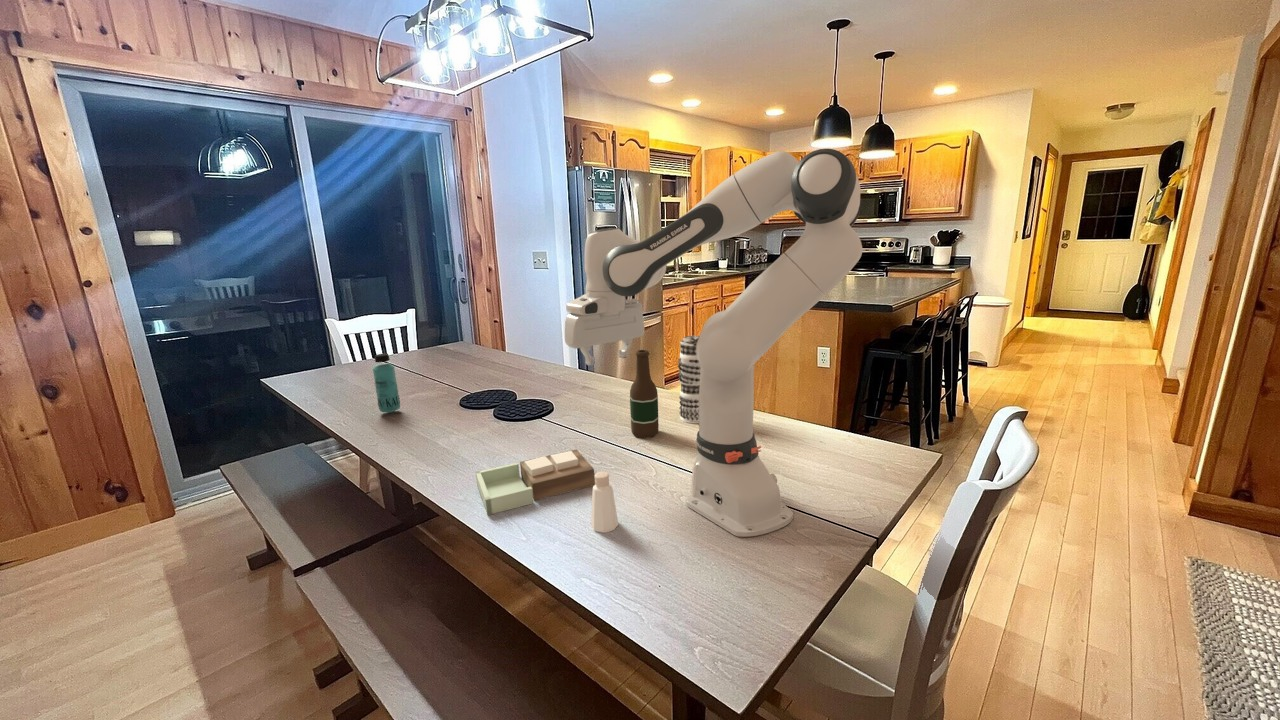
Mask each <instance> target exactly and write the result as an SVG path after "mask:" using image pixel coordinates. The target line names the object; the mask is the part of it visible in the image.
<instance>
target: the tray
mask: <svg viewBox="0 0 1280 720" xmlns="http://www.w3.org/2000/svg"><path fill="white" fill-rule="evenodd" d="M519 465H520V464H519V463H518V462H514V463H509V464H505V465H500V466H497V467H495V466H494V467H492V468H487V469H482V470H478V471H475V479H476V485H477V490H478V492H479V494H480V498H481V500H482V504H483V506H484V510H485V513H486V512H487V513H486V515H487V516H489V515H493V514H498V513H501V512H505V511H508V510H513V509H517V508H521V507H525V506H528V505H532V504H534V499H533V494H532V488H531V487H526V485H525V483H524V481H523V479H522V477H521V473H520V467H519Z"/></svg>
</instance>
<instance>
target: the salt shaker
mask: <svg viewBox="0 0 1280 720" xmlns="http://www.w3.org/2000/svg"><path fill="white" fill-rule="evenodd" d="M594 478H595V485H593V486H592V495H591V496H592V498H591V512H590V513H591V514H590V515H591V516H590V525H591V528H592V530H593V532H597V533H602V534H604V533H608V532H612V531H615V529H616V528H617V527H618V526H619V519H618V514H617V507H616V500H615V496H614V489H613V486H612V484H611V483H610V474H609V472H607V471H598V472H596V473H594Z"/></svg>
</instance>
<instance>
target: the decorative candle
mask: <svg viewBox="0 0 1280 720" xmlns="http://www.w3.org/2000/svg"><path fill="white" fill-rule="evenodd" d="M699 337H700V335H688V336H687V335H686V336H684V337H683V338H682V340H680V342H679V344H680V347H679V350H680V352H679V358H678V360H677V363H678V365H677V368H678V375H679V376H678V381H679V383H680V391H679V393H680V395H679V397H678V398H679V400H680V401H679V407H678V409H679V415H680V416H679V419H680V421H681V422H683V423H687V424H699V387H700V363H699V361H698V358H697V353H696V347H697V342H698V339H699Z"/></svg>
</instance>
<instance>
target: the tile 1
mask: <svg viewBox="0 0 1280 720" xmlns="http://www.w3.org/2000/svg"><path fill="white" fill-rule="evenodd" d="M545 456H546V455H544V456H541V457H537V458H536V459H535V458H532V460H531V459H527V460H528V461H526V460H524V461H525V462H524V464H525V469H526V470H527V471H528V472H529V474H530V475H531V476H532V477H533V476H536V475H540V474H543V473H547V472H551V471H554V470H553V464H552V463H551V462H550V461H549V460H548V459H547V458H546V457H545Z"/></svg>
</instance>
